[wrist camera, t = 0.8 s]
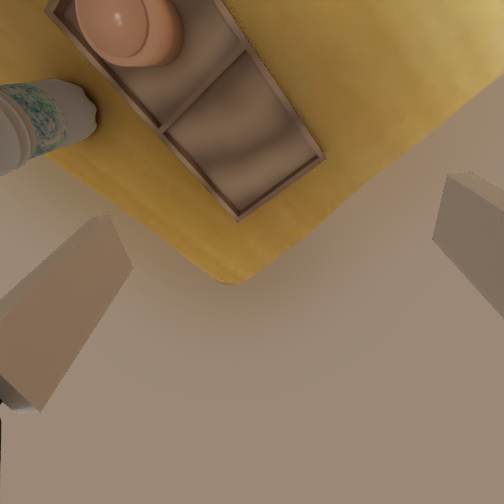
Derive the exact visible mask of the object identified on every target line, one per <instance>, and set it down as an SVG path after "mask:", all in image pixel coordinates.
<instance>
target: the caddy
mask: <svg viewBox="0 0 504 504" xmlns="http://www.w3.org/2000/svg"><path fill="white" fill-rule="evenodd" d="M171 1H172V2H173V3H174V5H175V6H176V8H177V9H178V11H179V13H180V16H181V18H182V22H183V26H184V43H183V47H182V50H181V52H180V54H179V56H178V57H177V58H176V59H175V60H174V61H173V62H172V63H170V64H168V65H166V66H160V67H127V66H118V65H115V64H112V63H110V62H108V61H107V60H105V59H103V58H102V57H101V56H100V55H98V54H97V53H96V52H95V51H94V49H93V48H92V47H91V46H90V45H89V43H88V42H87V40H86V38H85V37H84V35H83V33H82V31H81V28H80V26H79V23H78V19H77V15H76V8H75V0H50V1H49V3H48V5H47V6H46V8H45V10H44V12H45V13H46V14H47V15H48V17H49V18H50V19H51V20H52V21H53V22H54V23H55V24H56V25H57V26H58V27H59V29H60V30H61V31H62V32H63V33H64V34H65V35H66V36H67V37H68V38H69V39H70V41H71V42H72V43H73V44H74V45H75V46H76V47H77V48H78V49H79V50H80V51H81V53H82V54H83V55H84V56H85V57H86V58H87V59H88V60H89V61H90V62H91V63H92V65H93V66H94V67H95V68H96V69H97V70H98V71H99V72H100V73H101V74H102V75H103V77H104V78H105V79H106V80H107V81H108V82H109V83H110V84H111V85H112V86H113V87H114V89H115V90H116V91H117V92H118V93H119V94H120V95H121V96H122V97H123V98H124V99H125V101H126V102H127V103H128V104H129V105H130V106H131V107H132V108H133V109H134V110H135V111H136V113H137V114H138V115H139V116H140V117H141V118H142V119H143V120H144V121H145V122H146V123H147V125H148V126H149V127H150V128H151V129H152V130H153V131H154V132H155V133H156V134H157V135H158V137H159V138H160V139H161V140H162V141H163V142H164V143H165V144H166V145H167V146H168V147H169V149H170V150H171V151H172V152H173V153H174V154H175V155H176V156H177V157H178V158H179V159H180V161H181V162H182V163H183V164H184V165H185V166H186V167H187V168H188V169H189V170H190V171H191V173H192V174H193V175H194V176H195V177H196V178H197V179H198V180H199V181H200V182H201V183H202V185H203V186H204V187H205V188H206V189H207V190H208V191H209V192H210V193H211V194H212V195H213V197H214V198H215V199H216V200H217V201H218V202H219V203H220V204H221V205H222V206H223V207H224V209H225V210H226V211H227V212H228V213H229V214H230V215H231V216H232V217H233V218H234V219H235V221H236V222H237V223H238V222H239V221H241V220H242V219H244V218H245V217H246V216H248V215H249V214H251V213H252V212H253V211H255V210H256V209H257V208H259V207H260V206H262V205H263V204H264V203H266V202H267V201H268V200H270V199H271V198H273V197H274V196H275V195H277V194H278V193H280V192H281V191H282V190H284V189H285V188H286V187H288V186H289V185H291V184H292V183H293V182H295V181H296V180H297V179H299V178H300V177H302V176H303V175H304V174H306V173H307V172H309V171H310V170H311V169H313V168H314V167H315V166H317V165H318V164H320V163H321V162H322V161H324V160H325V159H326V157H325V155H324V154H323V152H322V150H321V149H320V147H319V146H318V144H317V143H316V141H315V140H314V138H313V137H312V135H311V134H310V132H309V131H308V129H307V128H306V126H305V125H304V123H303V122H302V120H301V119H300V117H299V116H298V114H297V113H296V111H295V110H294V108H293V107H292V105H291V104H290V102H289V101H288V99H287V98H286V96H285V95H284V93H283V92H282V90H281V89H280V87H279V86H278V84H277V83H276V81H275V80H274V78H273V77H272V75H271V74H270V72H269V71H268V69H267V68H266V66H265V65H264V63H263V62H262V60H261V59H260V57H259V56H258V54H257V53H256V51H255V50H254V48H253V47H252V45H251V44H250V42H249V41H248V39H247V38H246V36H245V35H244V33H243V32H242V30H241V29H240V27H239V26H238V24H237V23H236V21H235V20H234V18H233V17H232V15H231V14H230V12H229V11H228V9H227V8H226V6H225V5H224V3H223V2H222V0H171Z"/></svg>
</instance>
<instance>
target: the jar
mask: <svg viewBox="0 0 504 504" xmlns="http://www.w3.org/2000/svg"><path fill="white" fill-rule="evenodd" d="M75 8H76V15H77V19H78V23H79V26H80V28H81V31H82V33H83V35H84V37H85V38H86V40H87V42H88V43H89V45H90V46H91V47H92V48H93V49H94V51H95V52H96V53H97V54H98V55H100V56H101V57H102V58H103V59H105V60H107V61H108V62H110V63H112V64H115V65H118V66H127V67H160V66H166V65H168V64H170V63H172V62H173V61H174V60H175V59H176V58H177V57H178V56H179V54H180V52H181V50H182V47H183V43H184V26H183V22H182V18H181V16H180V13H179V11H178V9H177V8H176V6H175V5H174V3H173V2H172V1H171V0H75Z"/></svg>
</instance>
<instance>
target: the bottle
mask: <svg viewBox="0 0 504 504" xmlns="http://www.w3.org/2000/svg"><path fill="white" fill-rule="evenodd" d="M96 111H97V109H96V106H95V104H94V103H92V102H91V101H90V100H89V99H88V98H87V97H86V95H85V91H84V90H83V89H82V88H81V87H79V86H78V85H75V84H72V83H69V82H66V81H63V80H59V79H46V80H39V81H34V82H29V83H20V84H5V85H0V176H2V175H5V174H8V173H10V172H12V171H13V170H15V169H18V168H20V167H22V166H23V165H24V164H25V163H26V162H27V160H29V159H31V158H34V157H37V156H39V155H42V154H44V153H47V152H50V151H52V150H55V149H57V148H60V147H63V146H68V145H72V144H75V143H78V142H81V141H83V140H85V139H86V138H88V137H89V136H90V135H91V134H92V133H93V132H94V131H95V129H96V128H97V123H96V121H95V114H96Z"/></svg>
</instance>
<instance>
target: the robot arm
mask: <svg viewBox="0 0 504 504" xmlns="http://www.w3.org/2000/svg"><path fill="white" fill-rule="evenodd" d="M432 240H433V241H434V242H435V243H436V244H437V245H438V247H439V248H440V249H441V250H442V251H443V252H444V253H445V254H446V255H447V256H448V258H449V259H450V260H451V261H452V262H453V263H454V264H455V265H456V266H457V267H458V269H459V270H460V271H461V272H462V273H463V274H464V275H465V276H466V277H467V279H468V280H469V281H470V282H471V283H472V284H473V285H474V286H475V287H476V288H477V290H478V291H479V292H480V293H481V294H482V295H483V296H484V297H485V298H486V299H487V300H488V302H489V303H490V304H491V305H492V306H493V307H494V308H495V310H496V311H498V313H499V314H500V315H501V316H502V317H503V318H504V191H503V190H502V189H500V188H498V187H496V186H494V185H493V184H491V183H489V182H487V181H485V180H484V179H482V178H480V177H478V176H477V175H475V174H473V173H471V172H465V173H457V174H448V175H447V177H446V182H445V186H444V190H443V195H442V199H441V203H440V208H439V212H438V216H437V221H436V225H435V229H434V234H433V238H432ZM132 270H133V265H132V263H131V261H130V259H129V257H128V255H127V252H126V250H125V248H124V246H123V244H122V242H121V240H120V237H119V235H118V233H117V231H116V229H115V227H114V225H113V223H112V220H111V218H110V216H109V215H106V216H97V217H92V218H91V219H90V220H88V221H87V222H86V223H85V224H84V225H83V226H82V227H81V228H80V229H78V230H77V231H76V232H75V233H74V234H73V235H72V236H71V237H69V238H68V239H67V240H66V241H65V242H64V243H63V244H62V245H61V246H59V247H58V248H57V249H56V250H55V251H54V252H53V253H52V254H51V255H49V256H48V257H47V258H46V259H45V260H44V261H43V262H42V263H41V264H40V265H38V266H37V267H36V268H35V269H34V270H33V271H32V272H31V273H29V274H28V275H27V276H26V277H25V278H24V279H23V280H22V281H21V282H19V283H18V284H17V285H16V286H15V287H14V288H13V289H12V290H11V291H9V292H8V294H6V295H5V296H4V297H3V298H2V299H0V404H1V403H2V402H3V403H5V404H6V405H7V406H8V407H9V408H10V409H11V410H13V411H14V412H15V413H40V412H41V411H42V409H43V408H44V406H45V405H46V403H47V402H48V400H49V399H50V397H51V395H52V394H53V392H54V391H55V389H56V388H57V386H58V385H59V383H60V381H61V380H62V378H63V377H64V375H65V374H66V372H67V371H68V369H69V368H70V366H71V364H72V363H73V361H74V360H75V358H76V357H77V355H78V354H79V352H80V350H81V349H82V347H83V346H84V344H85V343H86V341H87V340H88V338H89V336H90V335H91V333H92V332H93V330H94V328H95V327H96V326H97V324H98V322H99V321H100V319H101V318H102V316H103V315H104V313H105V312H106V310H107V309H108V307H109V305H110V304H111V302H112V301H113V299H114V298H115V296H116V295H117V293H118V291H119V290H120V288H121V287H122V285H123V284H124V282H125V280H126V279H127V277H128V276H129V274H130V273H131V271H132ZM0 459H1V419H0ZM0 461H1V460H0Z"/></svg>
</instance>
